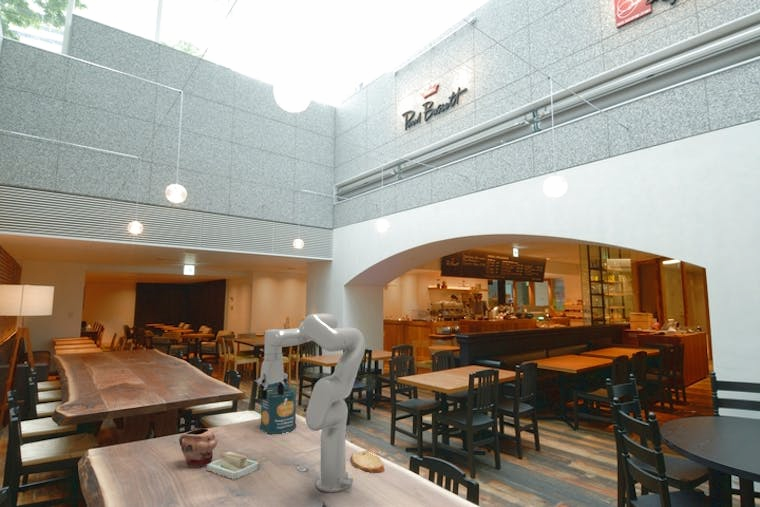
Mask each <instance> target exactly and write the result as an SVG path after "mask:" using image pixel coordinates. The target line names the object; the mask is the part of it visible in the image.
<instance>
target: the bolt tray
mask: <svg viewBox="0 0 760 507" xmlns="http://www.w3.org/2000/svg"><path fill="white" fill-rule="evenodd" d="M220 462H221V458H219V459H217V460H214V461H211V463H209V464H207V465H206V470H207V469H208V470H211V471H214V472H216V473H219V474H221V475H224V476H226V477H230V478H233V479H236V478H238V477H240V476H243V475H245V474H247V473H250V472H252V471H254V472H256V471H258V470H260V469H259V468H260V467H261V466H260V465H261V464H260V462H259V461H256V460H252V459H249V458H247V467H246V468H243V469H241V470H239V471H236V472H234V471H231V470H228V469H225V468H222V467H220ZM257 469H258V470H257ZM255 470H256V471H255ZM252 473H253V472H252ZM250 474H251V473H250ZM221 475H220V476H221ZM247 475H248V474H247ZM224 476H223V477H224ZM245 476H246V475H245ZM226 477H225V478H226ZM243 477H244V476H243Z"/></svg>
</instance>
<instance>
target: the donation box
mask: <svg viewBox="0 0 760 507" xmlns="http://www.w3.org/2000/svg"><path fill="white" fill-rule="evenodd" d="M278 385H279V384H278V383H275V384H270V385H268V386H267V388H266V390H267V399H266V400H265V399H261V398H260V399H261V400H260V401H261V404H260V406H261V408H260V424H259V430H260V429H261V430H260V431H262V430H263V431H262V432H264V431H265V432H267V433H269V434H281V435H283V434H282V433H285V434H287V433H286V432H289V431H293V430H294V429H295V428H297V423H296V422H297V420H296V418H297V417H296V415H297V414H296V413H297V412H296V411H297V409H296V408H297V406H296V405H297V402H296V400H297V389H296V388H293V387H289V386H290V384H289V383H288V379H287V380H286V382H285V385H284V394H283V395H279V394H278ZM264 386H265V385H264ZM295 430H296V429H295ZM295 430H294V431H295ZM294 431H293V432H294ZM265 432H264V433H265ZM267 433H266V434H267ZM289 433H290V432H289ZM269 434H268V435H269Z"/></svg>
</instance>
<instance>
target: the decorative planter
mask: <svg viewBox="0 0 760 507" xmlns="http://www.w3.org/2000/svg"><path fill="white" fill-rule="evenodd" d="M178 443H179V446H180V449H181V452H182V454H183V457H184V459H185V462H186V466H187V465H188V466H187V467H189V466H192V467H191V468H200V467H199V466H202V467H205V466H207V465H206V464H209V463H210V462H211V463H212V462H213V457H214V456H213V450H215V448H216V447H217V445H218V440H217V438H216V437H215V434H214V433H213V430H212V429H209V428H196V429H193V430H190V431H187V432H186V433H183V434H181V435H180V437H179V438H178ZM204 465H205V466H204Z"/></svg>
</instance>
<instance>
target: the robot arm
mask: <svg viewBox="0 0 760 507" xmlns="http://www.w3.org/2000/svg"><path fill="white" fill-rule="evenodd" d="M310 341H313V342H314V343H316V344H317V346H320V347H321V348H322V349H323V350H325V351H327V352H330V353H331V352H333V353H335V352H340V351H344V352H343V353H342V355H341V356H340V357H339V359H338V361H337V363H336V367H335V369H334V371H333V373H332V374H331V375H327V376H325V377H324V376H323V377H322V378H320V379H319V380H317V382H316V383H315V384H314V385H313V386H314V387H313V389H312V391H311V394H310V398H309V401H308V405H307V407H306V412H305V422H306V426H307V428H308V429H310V430H311V431H314V432H315V431H316V432H317V431H321V433H320V434H321V435H320V478H318V479H317V481H316V488H317V489H318V491H321V492H324V493H337V492H341V491H344V490H347V488H349V487H350V488H351V487H352V485H353V482H354V478H352V477H349V472H348V471H346V470H347V469H346V468H347V467H346V465H347V464H346V463H347V460H346V457H347V456H346V429H347V422H348V421H347V420H348V415H349V414H348V413H349V408H348V405H347V403H346V402H345V400H344V399H346V398H348V397H349V396H350V395H351V393H352V390H353V387H354V385H355V382H356V378H357V375H358V371H359V369H360V366H361V363H362V361H363V358H364V355H365V351H366V340H365V337H364V335H363V333H362V332H361V331H360V330H359V329H358V328H356V327H351V326H350V327H349V326H347V327H345V326H344V327H338V320H337V317H335V316H334V315H333V314H332V313H331V314H330V313H325V312H324V313H311V314H309V315H307V316H306V317H305V319H304V320H302V321H301V322H300V324H299V327H295V328H294V327H293V328H285V329H284V328H283V329H279V328H272V329H266V330H265V332H264V356H263V358H264V360H263V361H262V364H261V369H260V377H259V378H258V379H257V380H256V381H255V382H256V384H257V387H258V388H259V390H260V399H265V400H266V399H267V390H266V388H267V386H268V385H270V384H275V383H278V384H279V385H278V394H279V395H283V394H284V385H285V382H286V380H287V381H288V373H286V372H284V371H285V370H284V360H283V359H282V358H283V355H284V354H283V351H282V350H283V349H282V348H284V347H291V346H299V345H301V344H302V345H303V344H305V343H308V342H310ZM264 385H265V386H264Z"/></svg>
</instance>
